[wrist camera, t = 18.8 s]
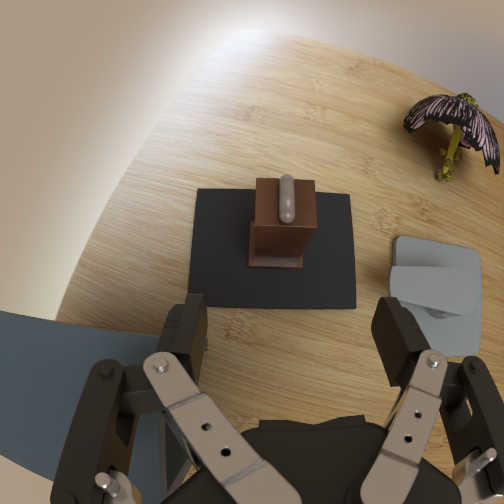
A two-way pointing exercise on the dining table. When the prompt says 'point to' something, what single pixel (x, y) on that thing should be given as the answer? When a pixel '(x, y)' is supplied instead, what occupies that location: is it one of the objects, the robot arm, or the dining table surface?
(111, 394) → the robot arm
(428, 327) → the shower valve
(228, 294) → the mat
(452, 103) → the decorative flower
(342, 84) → the dining table surface
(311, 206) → the coat peg
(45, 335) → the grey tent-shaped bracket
